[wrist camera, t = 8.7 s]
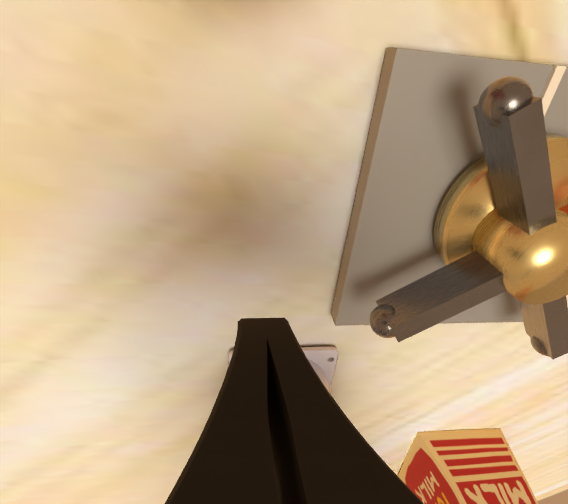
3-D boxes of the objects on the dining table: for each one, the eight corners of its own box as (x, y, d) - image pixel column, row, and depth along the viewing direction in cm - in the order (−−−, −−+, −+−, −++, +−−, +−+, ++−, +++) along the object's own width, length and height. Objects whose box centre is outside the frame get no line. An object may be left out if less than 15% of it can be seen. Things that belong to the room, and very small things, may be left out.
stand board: (532, 310, 26) (546, 323, 25) (330, 313, 24) (335, 327, 23) (677, 69, 18) (708, 71, 17) (389, 36, 16) (401, 35, 14)
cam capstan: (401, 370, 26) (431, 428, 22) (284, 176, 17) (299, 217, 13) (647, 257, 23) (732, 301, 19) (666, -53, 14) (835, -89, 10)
